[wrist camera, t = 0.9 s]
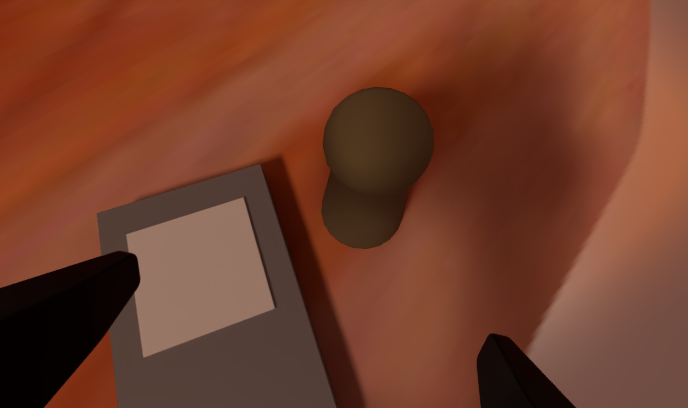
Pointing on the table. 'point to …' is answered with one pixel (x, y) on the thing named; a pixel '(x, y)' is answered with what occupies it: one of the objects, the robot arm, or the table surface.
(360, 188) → the cork
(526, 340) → the table surface
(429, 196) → the table surface
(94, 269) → the robot arm
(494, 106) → the table surface
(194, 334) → the dock step
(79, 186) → the table surface
